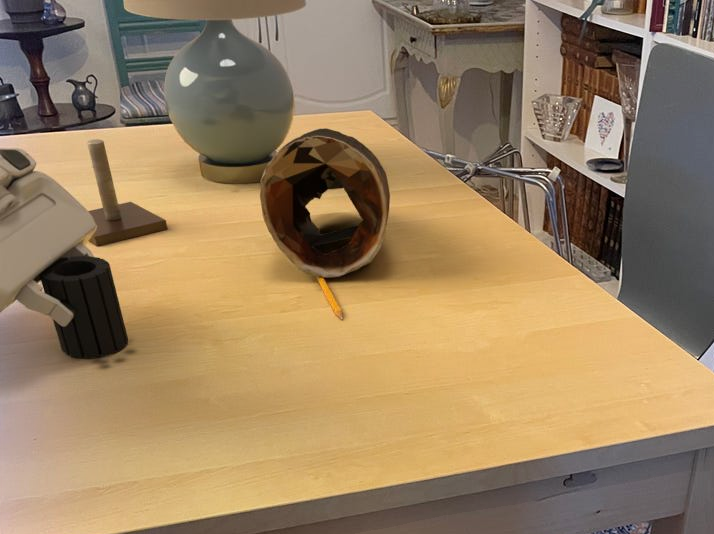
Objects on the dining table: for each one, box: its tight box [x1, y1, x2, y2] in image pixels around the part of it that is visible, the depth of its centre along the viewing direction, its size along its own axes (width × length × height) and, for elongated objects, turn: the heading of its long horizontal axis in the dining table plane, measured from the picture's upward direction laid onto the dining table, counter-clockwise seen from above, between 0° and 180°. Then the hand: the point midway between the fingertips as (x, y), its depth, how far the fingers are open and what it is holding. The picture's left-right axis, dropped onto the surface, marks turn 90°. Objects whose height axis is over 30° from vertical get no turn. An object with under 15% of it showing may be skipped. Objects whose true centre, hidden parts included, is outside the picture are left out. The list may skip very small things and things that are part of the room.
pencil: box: [315, 275, 344, 321], centre depth 108 cm, size 1×13×1 cm, turn 19°
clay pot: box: [259, 127, 391, 278], centre depth 118 cm, size 15×15×25 cm
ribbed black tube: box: [39, 256, 129, 360], centre depth 96 cm, size 7×7×8 cm
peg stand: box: [86, 138, 168, 247], centre depth 122 cm, size 10×10×10 cm
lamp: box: [122, 0, 307, 185], centre depth 131 cm, size 25×25×39 cm
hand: (90, 303), depth 96 cm, fingers closed on ribbed black tube, 7 cm apart
